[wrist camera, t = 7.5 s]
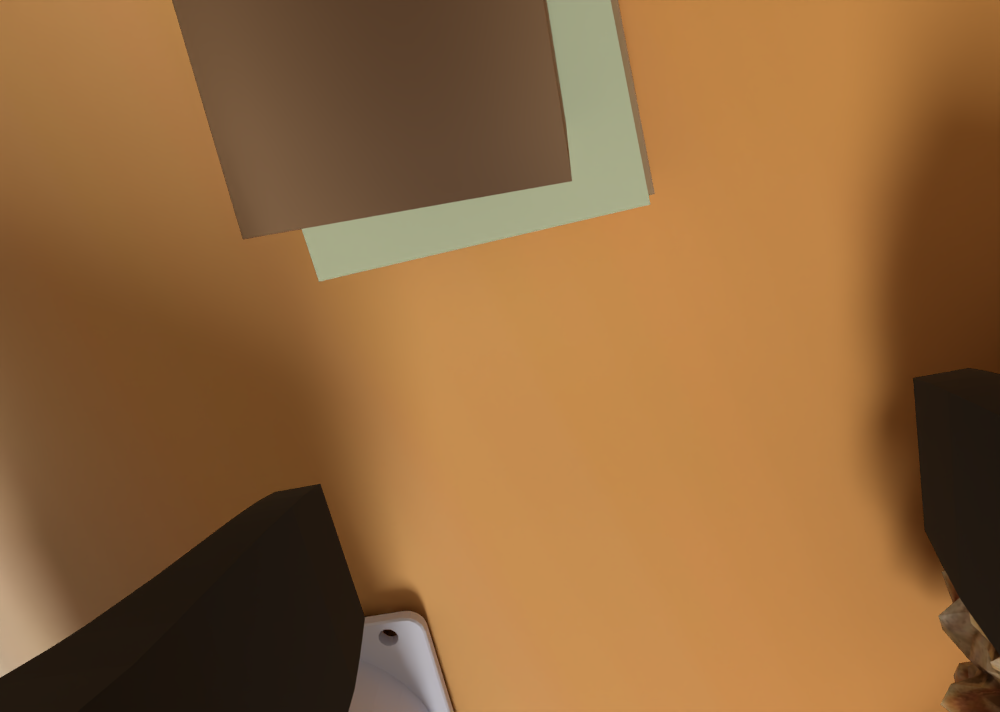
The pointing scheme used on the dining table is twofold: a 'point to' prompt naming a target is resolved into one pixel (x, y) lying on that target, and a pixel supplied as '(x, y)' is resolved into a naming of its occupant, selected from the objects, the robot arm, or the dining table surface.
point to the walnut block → (375, 104)
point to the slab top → (592, 192)
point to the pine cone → (987, 677)
